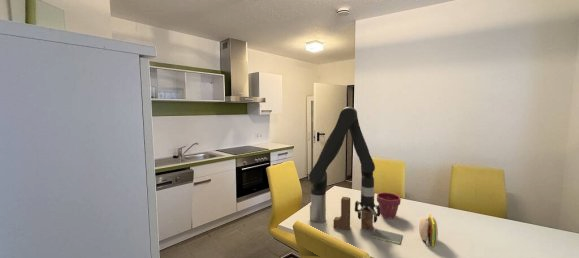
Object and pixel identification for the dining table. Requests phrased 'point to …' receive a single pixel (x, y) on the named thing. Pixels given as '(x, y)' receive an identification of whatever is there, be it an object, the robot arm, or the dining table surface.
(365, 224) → the walnut block
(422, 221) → the hamburger
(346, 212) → the wooden block
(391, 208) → the plant pot
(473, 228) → the dining table surface
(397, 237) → the mat
